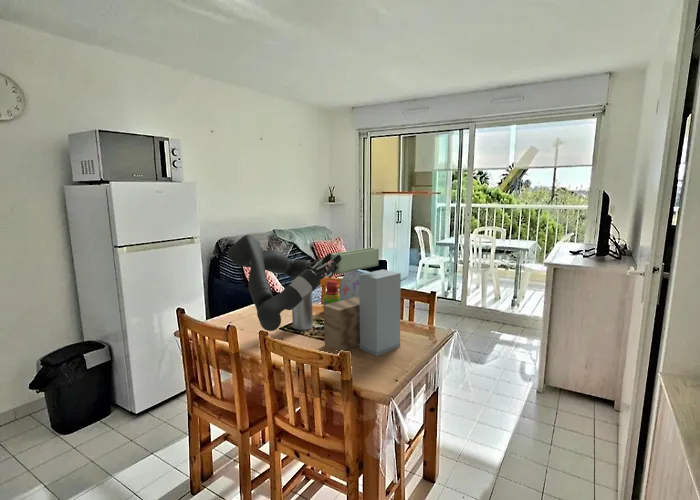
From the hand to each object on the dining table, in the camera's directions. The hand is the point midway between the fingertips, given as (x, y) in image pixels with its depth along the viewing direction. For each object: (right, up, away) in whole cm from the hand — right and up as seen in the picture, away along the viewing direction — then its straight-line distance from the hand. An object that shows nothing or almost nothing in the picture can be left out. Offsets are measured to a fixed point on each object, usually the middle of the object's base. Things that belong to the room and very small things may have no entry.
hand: (335, 255), depth 144 cm
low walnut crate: (+6, -38, +26) cm, 47 cm away
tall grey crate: (+18, -39, +19) cm, 47 cm away
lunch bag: (+13, -34, +51) cm, 63 cm away
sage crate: (+8, -5, +8) cm, 12 cm away
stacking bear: (-4, -32, +66) cm, 74 cm away
